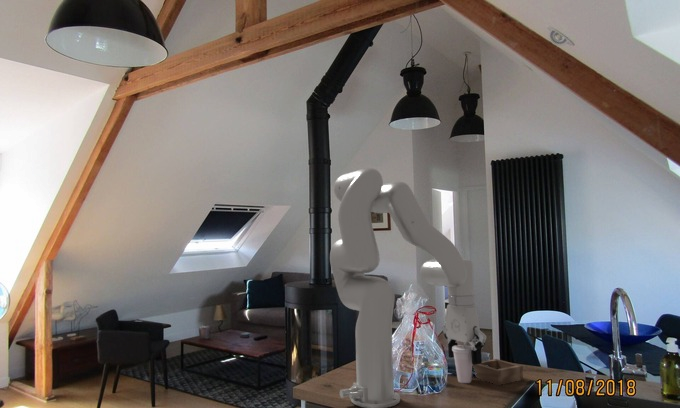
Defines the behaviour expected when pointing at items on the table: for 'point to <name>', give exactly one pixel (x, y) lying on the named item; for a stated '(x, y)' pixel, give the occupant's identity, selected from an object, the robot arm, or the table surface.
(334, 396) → the table surface
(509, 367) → the box
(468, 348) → the smoothie
